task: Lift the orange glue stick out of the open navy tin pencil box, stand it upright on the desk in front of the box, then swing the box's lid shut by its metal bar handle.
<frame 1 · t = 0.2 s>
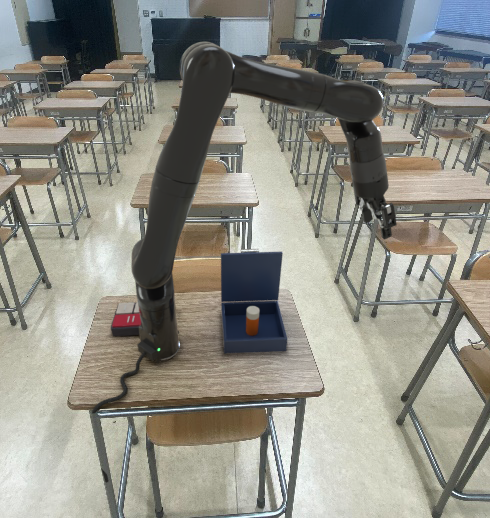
hand: (377, 229, 98), 31 cm above the table, tool tilted 20°, fingers open, 8 cm apart
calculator: (141, 323, 116), on the table
glue stick: (251, 331, 112), point 1 cm above the table, touching pencil box
pencil box: (251, 333, 112), on the table
lid: (249, 272, 113), point 14 cm above the table, hinge at 90.0°
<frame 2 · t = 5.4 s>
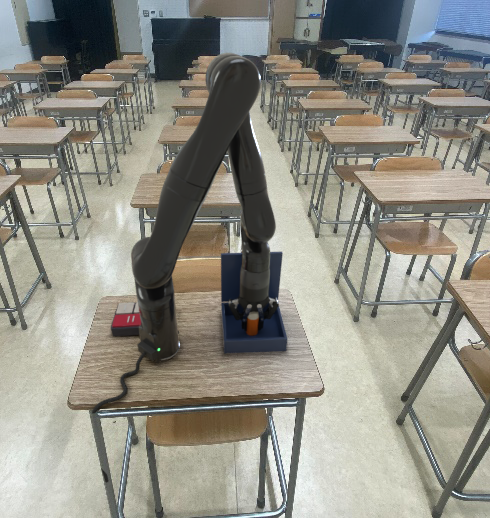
hand: (252, 328, 111), 2 cm above the table, tool pointing down, fingers closed on glue stick, 3 cm apart
glue stick: (251, 331, 112), point 1 cm above the table, touching gripper, pencil box
everything else where it was.
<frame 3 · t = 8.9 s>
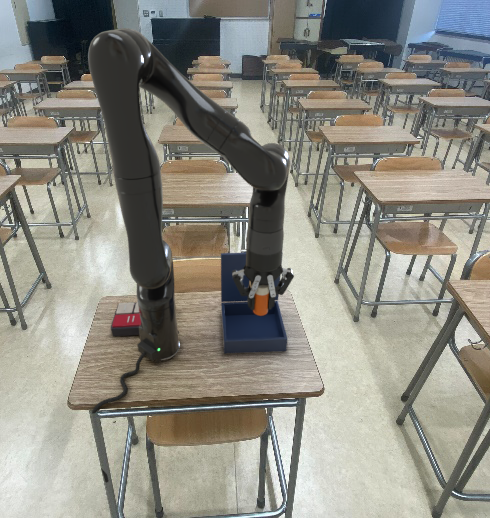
hand: (260, 307, 91), 20 cm above the table, tool pointing down, fingers closed on glue stick, 3 cm apart
glue stick: (260, 310, 92), point 19 cm above the table, touching gripper
everything else where it was.
when the fingers open (1 cm above the table, at t = 12.7 s): glue stick stays where it is, on the table.
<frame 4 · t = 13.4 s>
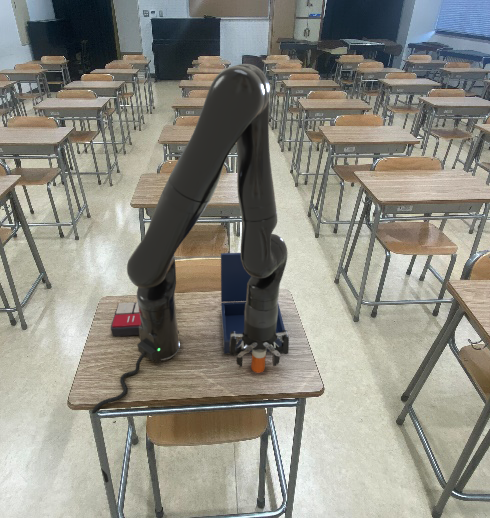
hand: (257, 363, 100), 2 cm above the table, tool pointing down, fingers open, 8 cm apart
glue stick: (257, 369, 101), on the table
everything else where it was.
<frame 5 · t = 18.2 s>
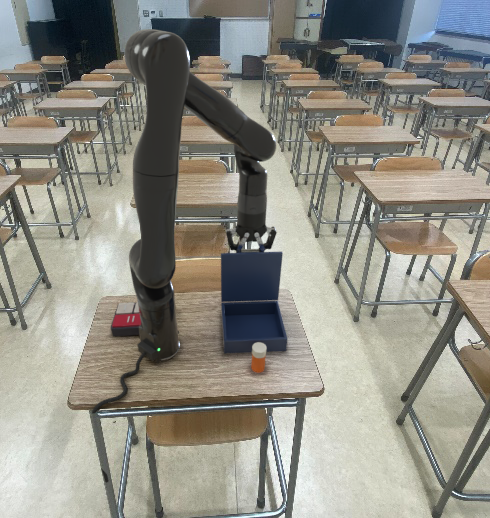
hand: (249, 260, 112), 17 cm above the table, tool pointing down, fingers closed on lid, 5 cm apart
lid: (249, 272, 113), point 14 cm above the table, hinge at 90.0°, touching gripper
everything else where it was.
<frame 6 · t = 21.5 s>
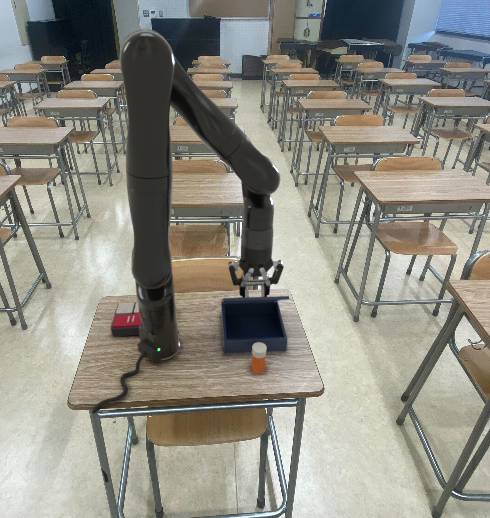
hand: (254, 295, 103), 14 cm above the table, tool pointing down, fingers closed on lid, 5 cm apart
lid: (252, 291, 107), point 13 cm above the table, hinge at 41.0°, touching gripper
everything else where it was.
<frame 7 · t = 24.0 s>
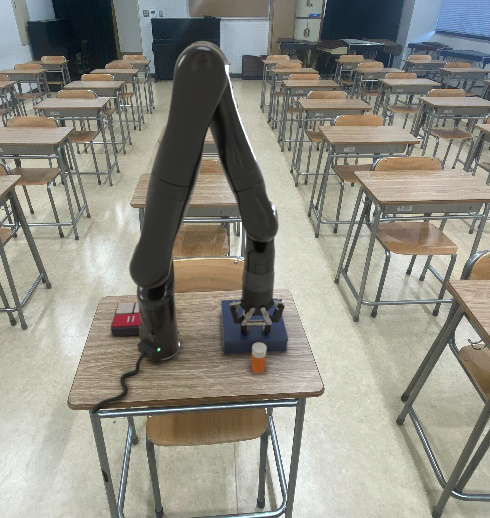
hand: (255, 332, 104), 6 cm above the table, tool pointing down, fingers closed on lid, 5 cm apart
lid: (253, 313, 107), point 8 cm above the table, hinge at -0.2°, touching gripper, pencil box
everything else where it was.
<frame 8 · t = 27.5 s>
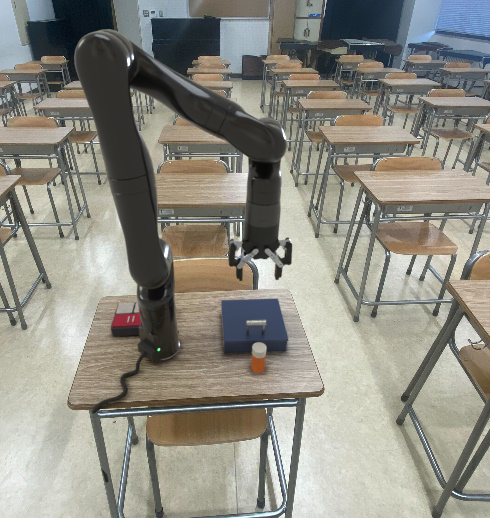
hand: (258, 278, 93), 24 cm above the table, tool pointing down, fingers open, 8 cm apart
lid: (253, 313, 107), point 8 cm above the table, hinge at -0.2°, touching pencil box
everything else where it was.
at the end: glue stick 0.2 cm from the target spot, on the table; glue stick tilted 0°; lid at +0° (first picture: +90°) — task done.
